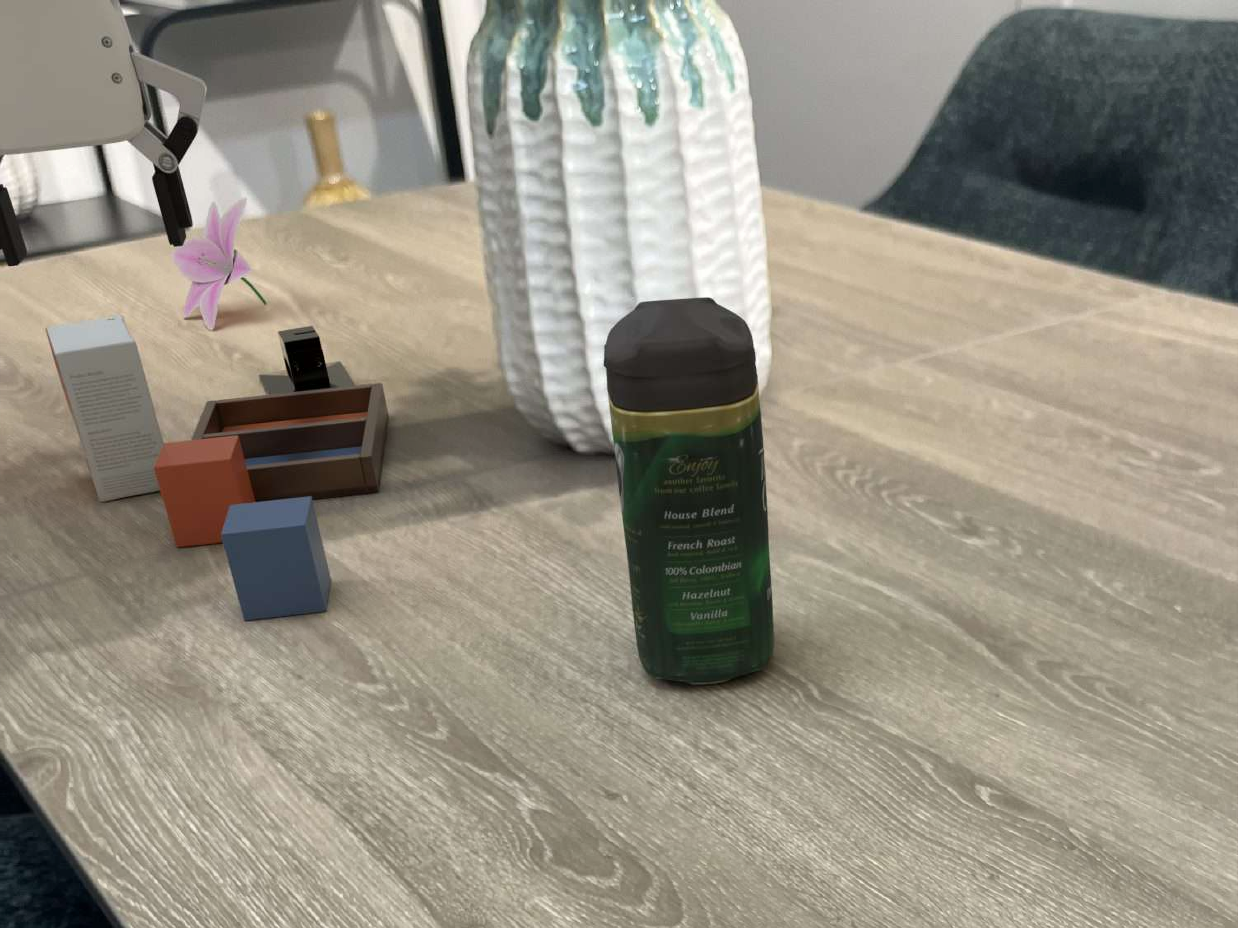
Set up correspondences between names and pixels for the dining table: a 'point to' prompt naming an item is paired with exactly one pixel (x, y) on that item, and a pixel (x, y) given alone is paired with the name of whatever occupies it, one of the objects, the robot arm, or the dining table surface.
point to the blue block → (276, 558)
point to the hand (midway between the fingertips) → (99, 251)
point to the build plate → (304, 365)
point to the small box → (109, 404)
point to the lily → (212, 262)
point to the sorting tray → (305, 440)
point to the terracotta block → (202, 486)
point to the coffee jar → (692, 488)
